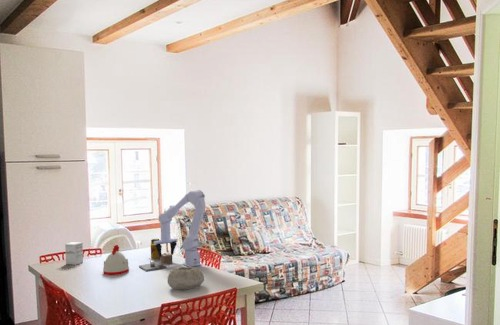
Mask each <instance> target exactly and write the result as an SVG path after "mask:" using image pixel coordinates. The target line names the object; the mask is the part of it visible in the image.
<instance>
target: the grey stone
mask: <svg viewBox="0 0 500 325" xmlns="http://www.w3.org/2000/svg"><path fill="white" fill-rule="evenodd" d="M204 281H205V276H204V273H203V271H202V270H201V269H199V268H197V267H195V266H193V267H188V266H178V267H176V268H173V270H171V271H169V273H168V276H167V284H168V287H170V288H171V289H174V290H176V291H177V290H178V291H185V290H189V289H194V288H198V287H199V286H201V285H202V284H203V283H204Z"/></svg>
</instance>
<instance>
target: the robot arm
mask: <svg viewBox="0 0 500 325" xmlns="http://www.w3.org/2000/svg"><path fill="white" fill-rule="evenodd" d="M205 197H206V195H205V194H204V192H203V191H202V190H200V189H197V190H193V191H191V190H190V191H189V192H188V193H186V194H185V195H184V196H183V197H182V198H181V199H180V200H179V201H178V202H177V203H176V204H173V205H169V208H168V209H166V210H164V211H163V213H160V214H159V216H158V221H159V223H160V239H159V241H154V245H155V246H156V248H157V250H158V253H159V256H160V257H161V254H162V246H163V245H164V244H169V245H170V246H169V247H170V254H172V256H174V252H175V249H176V246H177V243H178V238H171V221H172V220H173V218H174V217H176V215H177V214H179V212H180V209H182V208H183V207H185V205H187V204H188V203H190V204H191V205H193V206H194V208H195V209H194V213H193V217H192V221H191V223H190V227H189V231H188V234H187V235H186V236H185V239H184V240H183V241H182V243H181V244H182V248H183V249H184V261H185V262H183V263H182V265H183V266H185V267H197V266H198V267H199V266H202V264H201V257H200V256H201V255H200V253H199V251H198V246H199V245H200V236H199V235H198V234H199V232H200V227H201V225H202V221H203V218H204V215H205V214H204V213H205V211H206V202H205V200H206V199H205Z"/></svg>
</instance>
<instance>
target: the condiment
mask: <svg viewBox="0 0 500 325" xmlns="http://www.w3.org/2000/svg"><path fill="white" fill-rule="evenodd" d="M159 240H160V239H159V238H152V239H151V240H150V258H148V260H161V258H160V256H159V253H158V250H157V248H156V246H155V245H154V241H159Z"/></svg>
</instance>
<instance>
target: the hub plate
mask: <svg viewBox="0 0 500 325" xmlns="http://www.w3.org/2000/svg"><path fill="white" fill-rule="evenodd" d="M155 260H156V259H150V261H149V262H150V263H147V264H141V265H138V267H139V268H140V269H142V270H144V271H145V272H151V271H156V270H162V269H167V265H166V264H163V263H161V262H156V261H155Z"/></svg>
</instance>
